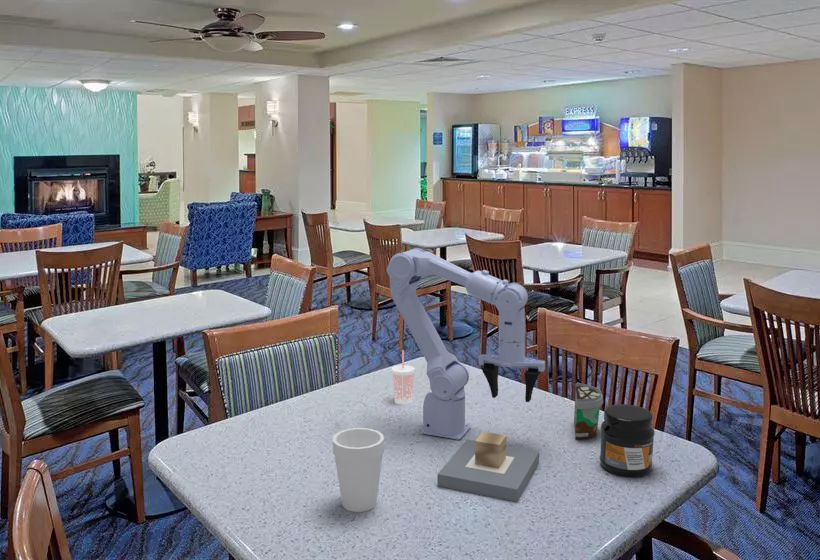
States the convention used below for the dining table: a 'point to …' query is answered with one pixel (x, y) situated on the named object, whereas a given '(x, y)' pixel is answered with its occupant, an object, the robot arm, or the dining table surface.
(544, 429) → the dining table surface
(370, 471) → the foam cup
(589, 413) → the food container
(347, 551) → the dining table surface
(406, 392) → the beverage cup
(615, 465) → the supplement container
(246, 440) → the dining table surface
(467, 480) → the plinth
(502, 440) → the oak cube
